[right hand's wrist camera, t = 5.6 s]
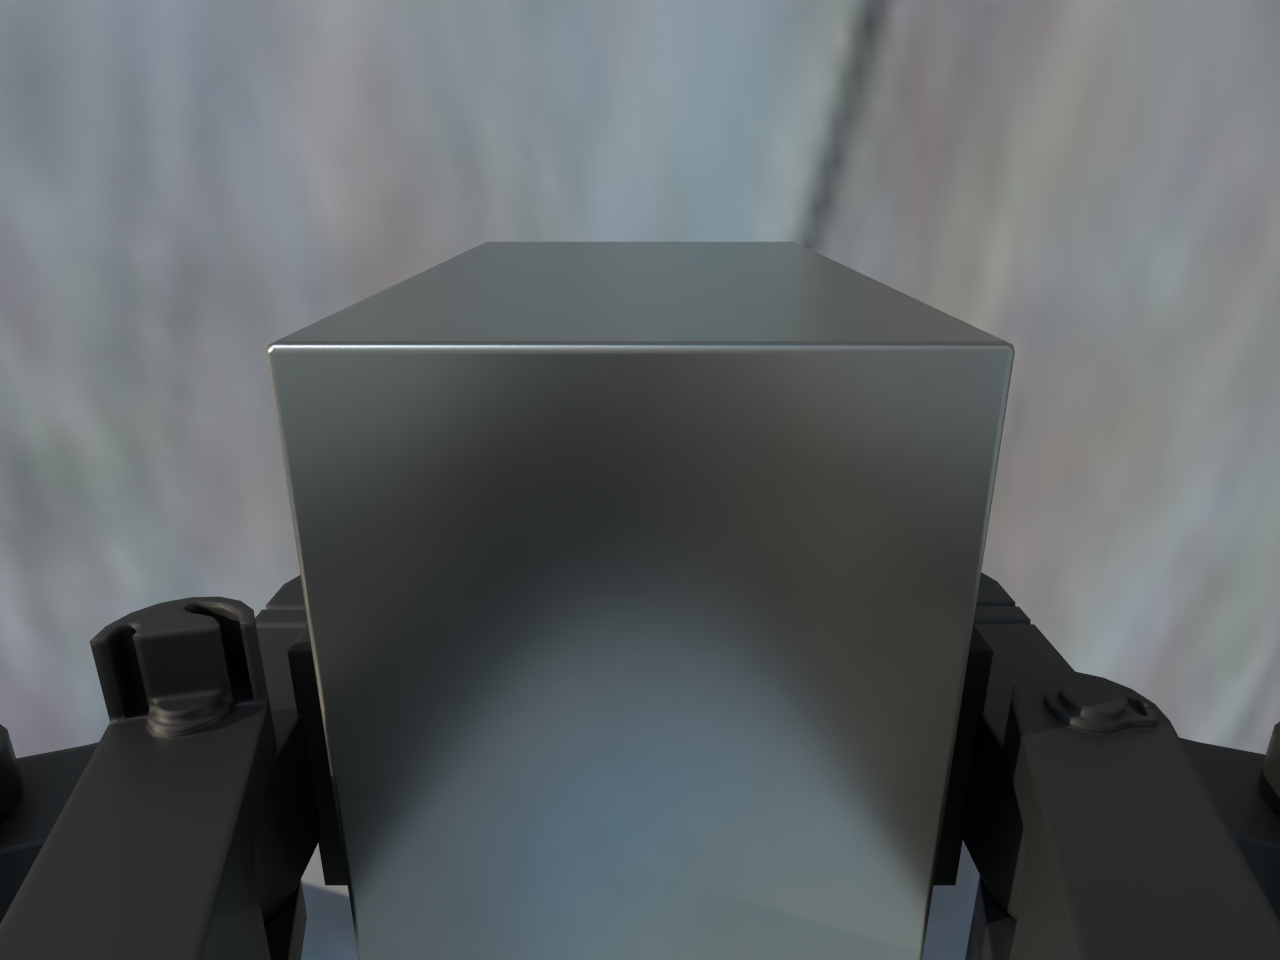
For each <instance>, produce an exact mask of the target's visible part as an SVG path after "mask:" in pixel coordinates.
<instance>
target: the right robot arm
mask: <svg viewBox="0 0 1280 960" xmlns="http://www.w3.org/2000/svg"><path fill="white" fill-rule="evenodd" d="M90 644H91V648H92V652H93V656H94V660H95V664H96V668H97V672H98V676H99V680H100V683H101V687H102V691H103V695H104V699H105V703H106V707H107V711H108V715H109V719H110V724H109V726H108V727H107V729H106V731H105V733H104V735H103V737H102V738H101V740H100V742H98V743H94V744H90V745H86V746H80V747H75V748H70V749H65V750H59V751H54V752H49V753H43V754H38V755H33V756H28V757H22V758H17V759H16V757H15V753H14V750H13V747H12V744H11V740H10V737H9V734H8V730H7V729H6V728H4V727H3V726H2V725H1V724H0V960H301V954H302V947H303V940H304V933H305V926H306V919H307V917H306V909H305V901H304V895H303V889H302V884H301V877H302V875H303V873H304V871H305V869H306V867H307V865H308V863H309V861H310V859H311V857H312V854H313V852H314V850H315V848H316V846H317V844H318V843H319V849H320V855H321V861H322V868H323V874H324V880H325V885H348V883H347V877H346V870H345V864H344V857H343V850H342V844H341V837H340V831H339V824H338V817H337V811H336V804H335V798H334V791H333V784H332V778H331V771H330V765H329V758H328V752H327V745H326V738H325V732H324V725H323V719H322V712H321V705H320V699H319V692H318V686H317V679H316V673H315V666H314V659H313V653H312V646H311V640H310V633H309V626H308V620H307V613H306V607H305V600H304V594H303V587H302V580H301V575H300V576H298V577H296V578H294V579H293V580H291V581H289V582H287V583H286V584H284V585H283V586H282V587H281V589H280V590H279V591H278V592H277V593H276V594H275V596H274V597H273V598H272V599H271V600H270V601H269V603H268V604H267V605H266V610H262V611H261V612H260V613H259V614H258V615H257V617H256V618H255V617H254V611H253V609H251V608H250V607H248V606H247V605H246V604H244V603H243V602H241V601H238V600H233V599H228V598H223V597H191V598H186V599H180V600H175V601H169V602H164V603H159V604H156V605H153V606H150V607H147V608H144V609H141V610H138V611H135V612H132V613H130V614H128V615H126V616H124V617H123V618H121V619H119V620H117V621H115V622H113V623H111V624H109V625H108V626H106V627H105V628H104V629H103V630H102V631H100V632H99V633H98V634H97V635H96V636H95V637H94V638H93V639H92V640H91V641H90ZM963 840H964V843H965V845H966V847H967V849H968V851H969V853H970V855H971V857H972V859H973V861H974V863H975V865H976V867H977V870H978V872H979V874H980V878H979V884H978V889H977V895H976V901H975V906H974V912H973V918H972V923H971V929H970V935H969V941H968V946H967V952H966V958H965V960H979V959H980V960H1280V722H1279V723H1277V724H1276V725H1275V726H1274V730H1273V733H1272V736H1271V740H1270V743H1269V746H1268V749H1267V753H1266V755H1264V754H1258V753H1253V752H1248V751H1242V750H1237V749H1232V748H1227V747H1221V746H1216V745H1211V744H1205V743H1200V742H1195V741H1191V740H1187V739H1183V738H1179V737H1178V735H1177V733H1176V731H1175V729H1174V728H1173V726H1172V724H1171V722H1170V721H1169V719H1168V718H1167V717H1166V716H1165V715H1164V714H1163V713H1162V711H1161V710H1160V709H1159V708H1158V707H1157V706H1156V705H1155V704H1154V703H1152V702H1151V701H1149V700H1148V699H1146V698H1145V697H1143V696H1142V695H1140V694H1138V693H1137V692H1135V691H1134V690H1132V689H1130V688H1128V687H1125V686H1123V685H1120V684H1118V683H1115V682H1112V681H1110V680H1107V679H1105V678H1102V677H1097V676H1093V675H1088V674H1083V673H1079V672H1075V671H1074V670H1073V669H1072V668H1071V666H1070V665H1069V664H1068V663H1067V662H1066V661H1065V659H1064V658H1063V657H1062V656H1061V655H1060V654H1059V653H1058V651H1057V650H1056V649H1055V648H1054V647H1053V646H1052V644H1051V643H1050V642H1049V641H1048V640H1047V639H1046V638H1045V636H1044V635H1043V634H1042V633H1041V632H1040V631H1039V629H1038V628H1037V627H1036V626H1035V625H1031V623H1030V619H1029V618H1028V617H1027V616H1026V614H1025V613H1024V612H1023V611H1022V610H1021V609H1020V607H1015V602H1014V601H1013V599H1012V598H1011V597H1010V596H1009V595H1008V594H1007V592H1006V591H1005V590H1004V589H1003V588H1002V587H1001V586H1000V584H999V583H998V582H997V581H995V580H993V579H992V578H990V577H988V576H986V575H985V574H983V573H981V575H980V582H979V589H978V595H977V602H976V608H975V615H974V621H973V628H972V634H971V641H970V648H969V654H968V661H967V667H966V674H965V680H964V687H963V693H962V700H961V706H960V713H959V720H958V726H957V733H956V739H955V746H954V752H953V759H952V765H951V772H950V779H949V785H948V792H947V798H946V805H945V811H944V818H943V824H942V831H941V837H940V844H939V851H938V857H937V864H936V870H935V877H934V883H933V885H955V883H956V877H957V871H958V865H959V859H960V853H961V847H962V841H963Z"/></svg>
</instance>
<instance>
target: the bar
mask: <svg viewBox="0 0 1280 960" xmlns="http://www.w3.org/2000/svg"><path fill="white" fill-rule="evenodd" d="M267 356H268V363H269V370H270V376H271V383H272V389H273V396H274V403H275V409H276V416H277V422H278V429H279V435H280V442H281V449H282V455H283V462H284V468H285V475H286V482H287V488H288V495H289V501H290V508H291V514H292V521H293V528H294V534H295V541H296V547H297V554H298V561H299V567H300V574H301V580H302V587H303V594H304V600H305V607H306V613H307V620H308V626H309V633H310V640H311V646H312V653H313V659H314V666H315V673H316V679H317V686H318V692H319V699H320V705H321V712H322V719H323V725H324V732H325V738H326V745H327V752H328V758H329V765H330V771H331V778H332V784H333V791H334V798H335V804H336V811H337V817H338V824H339V831H340V837H341V844H342V850H343V857H344V864H345V870H346V877H347V883H348V890H349V896H350V903H351V910H352V916H353V923H354V929H355V936H356V943H357V949H358V956H359V960H922V955H923V949H924V942H925V936H926V929H927V923H928V916H929V910H930V903H931V896H932V890H933V883H934V877H935V870H936V864H937V857H938V851H939V844H940V837H941V831H942V824H943V818H944V811H945V805H946V798H947V792H948V785H949V779H950V772H951V765H952V759H953V752H954V746H955V739H956V733H957V726H958V720H959V713H960V706H961V700H962V693H963V687H964V680H965V674H966V667H967V661H968V654H969V648H970V641H971V634H972V628H973V621H974V615H975V608H976V602H977V595H978V589H979V582H980V575H981V569H982V562H983V556H984V549H985V543H986V536H987V530H988V523H989V517H990V510H991V503H992V497H993V490H994V484H995V477H996V471H997V464H998V458H999V451H1000V444H1001V438H1002V431H1003V425H1004V418H1005V412H1006V405H1007V399H1008V392H1009V386H1010V379H1011V372H1012V366H1013V359H1014V348H1013V345H1012V344H1010V343H1008V342H1006V341H1004V340H1002V339H1000V338H997V337H995V336H993V335H991V334H989V333H987V332H985V331H982V330H980V329H978V328H976V327H974V326H972V325H970V324H968V323H965V322H963V321H961V320H959V319H957V318H955V317H953V316H950V315H948V314H946V313H944V312H942V311H940V310H938V309H936V308H933V307H931V306H929V305H927V304H925V303H923V302H921V301H919V300H916V299H914V298H912V297H910V296H908V295H906V294H904V293H901V292H899V291H897V290H895V289H893V288H891V287H889V286H887V285H884V284H882V283H880V282H878V281H876V280H874V279H872V278H869V277H867V276H865V275H863V274H861V273H859V272H857V271H855V270H852V269H850V268H848V267H846V266H844V265H842V264H840V263H838V262H835V261H833V260H831V259H829V258H827V257H825V256H823V255H820V254H818V253H816V252H814V251H812V250H810V249H808V248H806V247H803V246H801V245H799V244H797V243H795V242H486V243H483V244H481V245H479V246H477V247H475V248H473V249H471V250H469V251H466V252H464V253H462V254H460V255H458V256H456V257H454V258H452V259H449V260H447V261H445V262H443V263H441V264H439V265H437V266H435V267H432V268H430V269H428V270H426V271H424V272H422V273H420V274H418V275H415V276H413V277H411V278H409V279H407V280H405V281H403V282H401V283H398V284H396V285H394V286H392V287H390V288H388V289H386V290H384V291H381V292H379V293H377V294H375V295H373V296H371V297H369V298H367V299H365V300H362V301H360V302H358V303H356V304H354V305H352V306H350V307H348V308H345V309H343V310H341V311H339V312H337V313H335V314H333V315H331V316H328V317H326V318H324V319H322V320H320V321H318V322H316V323H314V324H311V325H309V326H307V327H305V328H303V329H301V330H299V331H297V332H294V333H292V334H290V335H288V336H286V337H284V338H282V339H280V340H277V341H275V342H273V343H271V344H269V346H268V350H267Z"/></svg>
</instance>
